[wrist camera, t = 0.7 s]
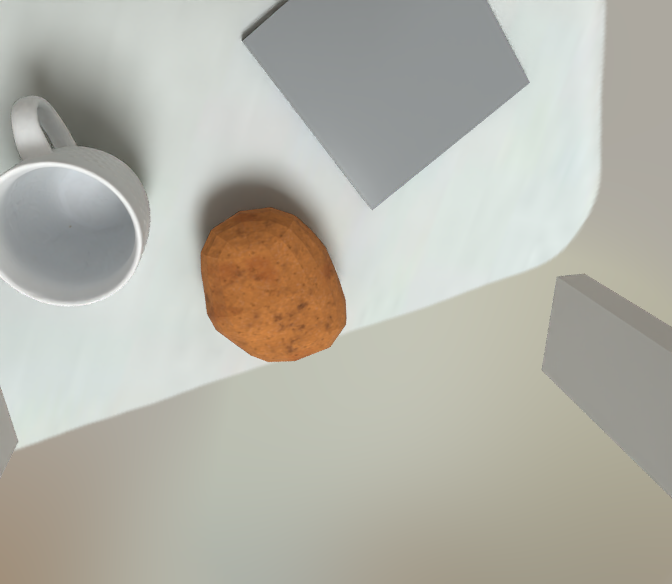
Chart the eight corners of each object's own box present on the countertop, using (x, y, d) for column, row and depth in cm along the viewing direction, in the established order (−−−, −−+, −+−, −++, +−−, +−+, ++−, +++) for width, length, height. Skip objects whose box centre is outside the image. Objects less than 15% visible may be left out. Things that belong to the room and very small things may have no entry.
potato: (234, 349, 43) (238, 405, 36) (175, 219, 38) (167, 256, 31) (345, 309, 43) (368, 357, 36) (301, 176, 38) (319, 202, 31)
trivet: (242, 41, 34) (242, 40, 33) (419, -115, 32) (424, -119, 32) (369, 207, 40) (372, 210, 39) (524, 82, 39) (529, 82, 38)
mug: (-15, 109, 33) (-95, 129, 24) (112, 72, 33) (77, 80, 25) (66, 265, 37) (23, 327, 29) (177, 231, 38) (166, 282, 30)
